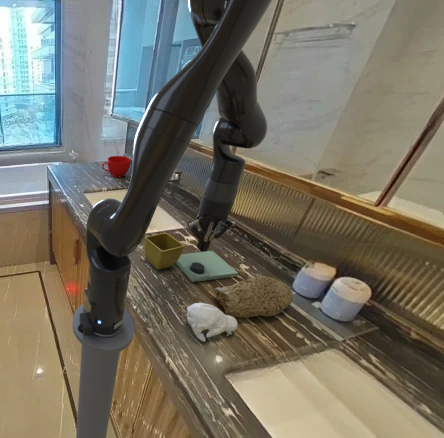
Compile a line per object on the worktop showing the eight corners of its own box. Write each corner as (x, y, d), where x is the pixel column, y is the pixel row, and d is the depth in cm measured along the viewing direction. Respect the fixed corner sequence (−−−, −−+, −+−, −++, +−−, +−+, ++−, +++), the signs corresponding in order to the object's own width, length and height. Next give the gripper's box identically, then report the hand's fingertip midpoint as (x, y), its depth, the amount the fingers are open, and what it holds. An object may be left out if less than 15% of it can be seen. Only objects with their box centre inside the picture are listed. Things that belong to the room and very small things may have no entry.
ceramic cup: (96, 174, 169) (97, 157, 165) (121, 171, 174) (123, 155, 169) (106, 181, 159) (107, 164, 154) (133, 178, 163) (135, 161, 158)
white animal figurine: (189, 296, 68) (236, 297, 69) (178, 321, 72) (223, 322, 73) (202, 317, 62) (253, 318, 63) (190, 343, 66) (238, 343, 67)
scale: (191, 285, 84) (193, 277, 83) (168, 259, 95) (169, 251, 94) (239, 279, 86) (243, 271, 85) (211, 253, 98) (213, 246, 96)
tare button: (194, 274, 84) (196, 270, 83) (187, 267, 87) (189, 262, 86) (205, 273, 85) (207, 268, 84) (198, 266, 88) (199, 261, 87)
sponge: (231, 329, 72) (315, 316, 70) (230, 303, 69) (317, 289, 67) (206, 299, 84) (276, 287, 82) (205, 276, 82) (277, 264, 80)
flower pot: (161, 253, 98) (166, 231, 94) (179, 268, 91) (185, 245, 87) (140, 259, 95) (144, 236, 91) (157, 275, 88) (162, 251, 84)
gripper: (205, 203, 70) (188, 260, 78) (252, 199, 72) (231, 255, 80) (187, 191, 76) (174, 245, 84) (230, 188, 78) (213, 241, 86)
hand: (202, 250), depth 82 cm, fingers closed
